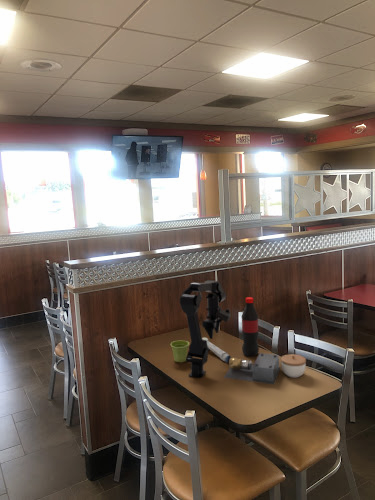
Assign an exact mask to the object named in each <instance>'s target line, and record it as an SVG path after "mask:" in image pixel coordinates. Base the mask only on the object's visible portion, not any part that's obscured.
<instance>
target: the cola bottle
mask: <svg viewBox="0 0 375 500" xmlns="http://www.w3.org/2000/svg"><path fill="white" fill-rule="evenodd" d="M241 334H242V335H241V336H242V341H243V344H242V346H241V350H242V354H243V356H246V357H250V358H251V357H256V356H257V355H259V353H260V352H259V351H260V348H259V345H258V344H259V343H258V339H259V315H258V313H257V310H256V308H255V306H254V298H253V297H249V296H247V297H245V307H244V309H243V312H242V313H241Z"/></svg>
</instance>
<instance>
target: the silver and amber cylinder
mask: <svg viewBox="0 0 375 500" xmlns="http://www.w3.org/2000/svg"><path fill="white" fill-rule="evenodd" d="M252 364H253V361H252V360H247V359H246V360H245V359H243V358H241V357H240V358H238V357H232V358H230V360H229V362H228V368H229V369H238V370H241V369H247V370H251V369H252Z"/></svg>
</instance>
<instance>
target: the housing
mask: <svg viewBox="0 0 375 500" xmlns="http://www.w3.org/2000/svg"><path fill="white" fill-rule="evenodd" d="M257 355H258V356H257V357H256V359H255V361H254V363H253V364H254V365H253V366H252V370H253V380H254V381H261V382H268V383H274V380H275V378H276V375H277V372H278V370H279V367H280V355H279V354H273V353H264V352H263V353H262V352H258V354H257ZM279 371H280V370H279ZM276 379H277V378H276Z"/></svg>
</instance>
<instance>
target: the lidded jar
mask: <svg viewBox="0 0 375 500" xmlns="http://www.w3.org/2000/svg"><path fill="white" fill-rule="evenodd" d="M280 360H281V369H282V371H283V373H284V374H285V375H286V376H287V377H289V378H295V379H297V378H299V377H301V376H302V375H304V373H305V371H306V367H307V366H306V365H307V364H306V363H307V359H306V358H305V356H302V355H299V354H293V353H292V354H290V353H288V354H285V355H282V356H281V358H280Z"/></svg>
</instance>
